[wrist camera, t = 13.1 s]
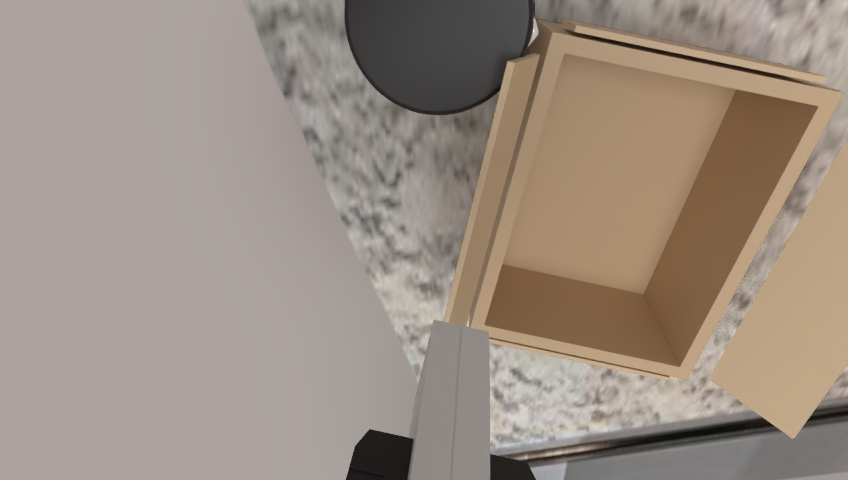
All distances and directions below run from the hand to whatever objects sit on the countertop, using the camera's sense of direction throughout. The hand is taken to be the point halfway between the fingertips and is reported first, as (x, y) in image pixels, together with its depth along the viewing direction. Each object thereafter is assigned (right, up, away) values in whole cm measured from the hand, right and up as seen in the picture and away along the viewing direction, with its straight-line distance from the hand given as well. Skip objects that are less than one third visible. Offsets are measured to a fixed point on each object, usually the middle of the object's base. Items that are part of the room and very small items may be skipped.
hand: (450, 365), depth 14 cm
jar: (+2, +18, +19) cm, 26 cm away
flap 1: (+2, +4, +12) cm, 13 cm away
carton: (+12, +8, +22) cm, 26 cm away
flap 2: (+19, +1, +12) cm, 23 cm away
